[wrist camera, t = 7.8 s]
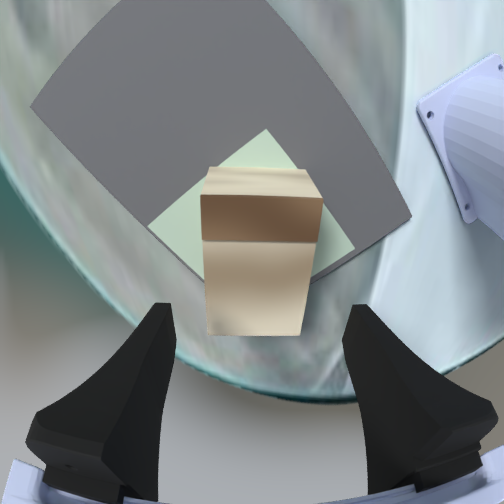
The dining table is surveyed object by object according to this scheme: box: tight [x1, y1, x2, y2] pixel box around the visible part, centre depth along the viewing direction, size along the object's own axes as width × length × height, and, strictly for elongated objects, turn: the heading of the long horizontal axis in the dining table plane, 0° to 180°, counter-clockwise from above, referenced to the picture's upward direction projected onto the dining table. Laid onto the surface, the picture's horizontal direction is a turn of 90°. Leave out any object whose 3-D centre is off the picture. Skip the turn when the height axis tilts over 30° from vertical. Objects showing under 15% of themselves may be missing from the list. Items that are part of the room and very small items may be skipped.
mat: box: [30, 0, 412, 285], centre depth 16 cm, size 20×13×1 cm, turn 38°
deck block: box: [200, 167, 324, 336], centre depth 17 cm, size 8×5×4 cm, turn 178°
